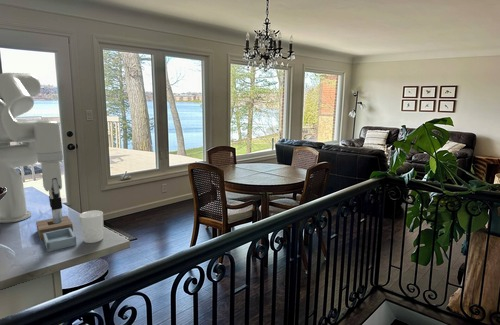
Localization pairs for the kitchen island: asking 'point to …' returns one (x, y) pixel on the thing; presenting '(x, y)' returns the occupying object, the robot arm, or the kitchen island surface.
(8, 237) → the kitchen island surface
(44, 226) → the socket block
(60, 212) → the pin
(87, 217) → the white cup
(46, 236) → the tray
